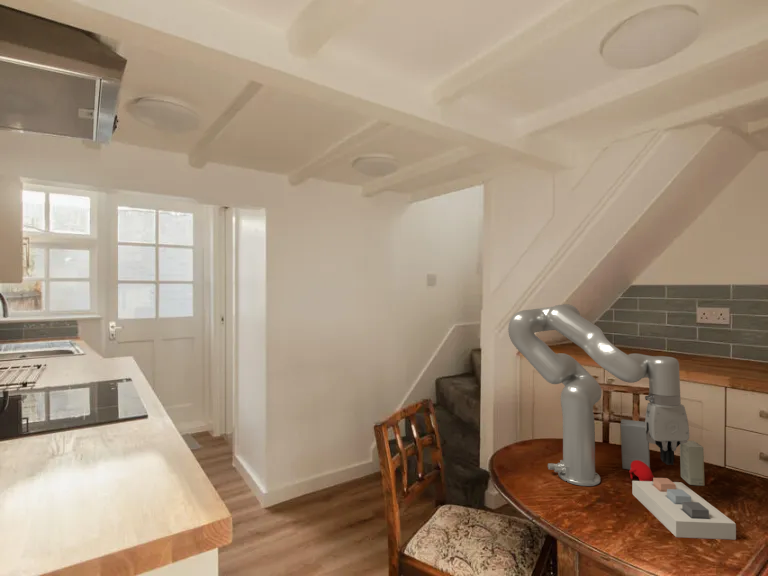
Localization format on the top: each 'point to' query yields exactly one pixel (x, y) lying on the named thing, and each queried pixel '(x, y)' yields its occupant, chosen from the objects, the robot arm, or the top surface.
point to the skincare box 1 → (634, 443)
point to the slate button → (678, 496)
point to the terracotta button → (663, 484)
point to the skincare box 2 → (692, 463)
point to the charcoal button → (695, 510)
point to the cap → (641, 471)
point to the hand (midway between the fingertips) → (667, 462)
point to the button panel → (683, 513)
